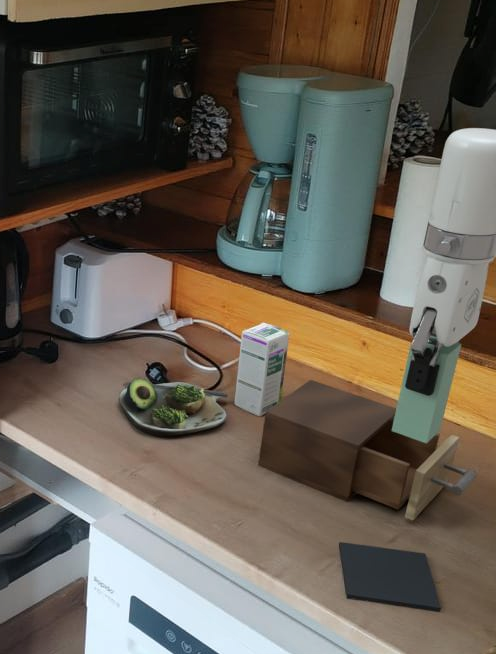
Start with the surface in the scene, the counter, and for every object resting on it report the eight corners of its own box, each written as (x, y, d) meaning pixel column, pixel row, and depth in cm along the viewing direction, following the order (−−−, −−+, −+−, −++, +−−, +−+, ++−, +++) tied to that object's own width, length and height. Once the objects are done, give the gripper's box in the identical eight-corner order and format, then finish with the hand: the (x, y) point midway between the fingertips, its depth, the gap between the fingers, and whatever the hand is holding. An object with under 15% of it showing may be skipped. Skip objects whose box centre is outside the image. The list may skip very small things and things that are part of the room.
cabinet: (388, 463, 142) (399, 409, 137) (347, 502, 132) (358, 445, 128) (301, 430, 151) (310, 379, 146) (257, 465, 141) (265, 411, 137)
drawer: (478, 493, 133) (490, 447, 129) (444, 533, 124) (457, 485, 120) (361, 449, 144) (369, 406, 140) (322, 483, 135) (330, 438, 131)
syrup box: (260, 417, 154) (271, 340, 148) (232, 404, 159) (241, 329, 152) (280, 407, 158) (291, 331, 151) (252, 395, 162) (262, 320, 155)
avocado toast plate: (207, 382, 166) (210, 359, 164) (252, 430, 151) (255, 405, 149) (107, 393, 162) (108, 370, 160) (142, 443, 147) (144, 418, 145)
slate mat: (424, 556, 121) (425, 553, 120) (440, 611, 111) (441, 607, 111) (338, 545, 123) (339, 541, 123) (346, 598, 113) (347, 594, 113)
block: (440, 430, 114) (461, 344, 108) (426, 443, 111) (448, 355, 106) (405, 418, 116) (424, 333, 111) (391, 431, 114) (410, 344, 108)
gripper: (467, 267, 95) (431, 419, 103) (519, 232, 106) (482, 372, 114) (397, 251, 99) (367, 397, 107) (454, 219, 110) (423, 354, 119)
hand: (427, 383), depth 111 cm, fingers closed on block, 4 cm apart
